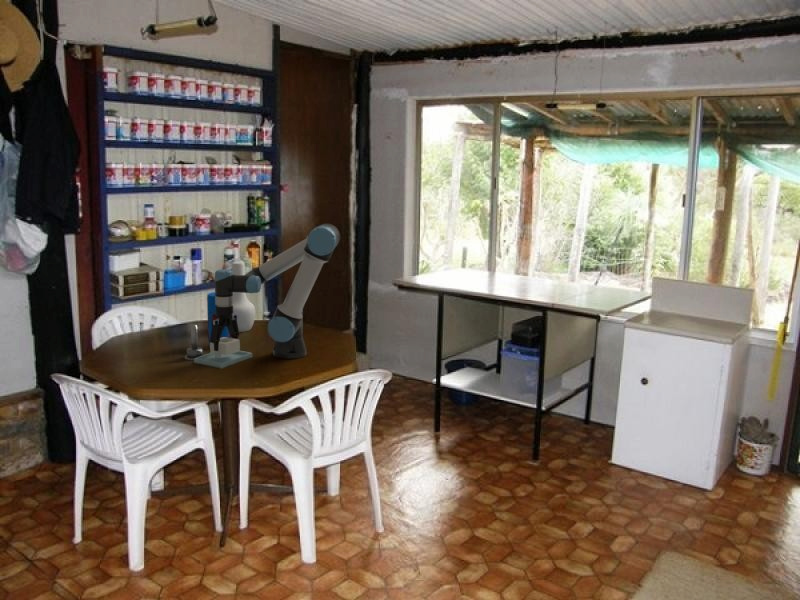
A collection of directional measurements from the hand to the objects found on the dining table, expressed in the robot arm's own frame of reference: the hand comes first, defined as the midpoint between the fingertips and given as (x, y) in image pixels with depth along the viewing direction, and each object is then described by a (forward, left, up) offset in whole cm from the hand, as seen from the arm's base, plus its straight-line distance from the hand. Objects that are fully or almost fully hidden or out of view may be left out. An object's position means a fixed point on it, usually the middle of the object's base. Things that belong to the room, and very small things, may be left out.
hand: (225, 355), depth 314 cm
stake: (+14, +4, -2) cm, 15 cm away
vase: (+31, -46, -3) cm, 56 cm away
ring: (0, 0, +2) cm, 2 cm away
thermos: (+18, -17, -3) cm, 25 cm away
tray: (+1, 0, -2) cm, 3 cm away
